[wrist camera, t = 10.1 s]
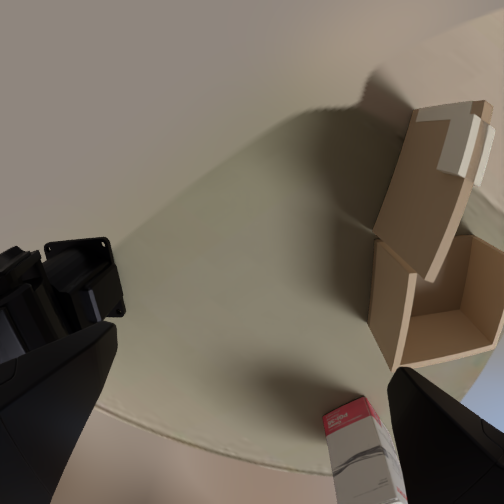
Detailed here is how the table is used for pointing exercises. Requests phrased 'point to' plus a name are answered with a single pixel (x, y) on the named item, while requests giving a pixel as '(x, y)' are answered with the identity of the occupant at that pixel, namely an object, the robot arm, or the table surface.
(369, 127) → the table surface
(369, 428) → the ink box
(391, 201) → the end flap
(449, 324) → the carton
